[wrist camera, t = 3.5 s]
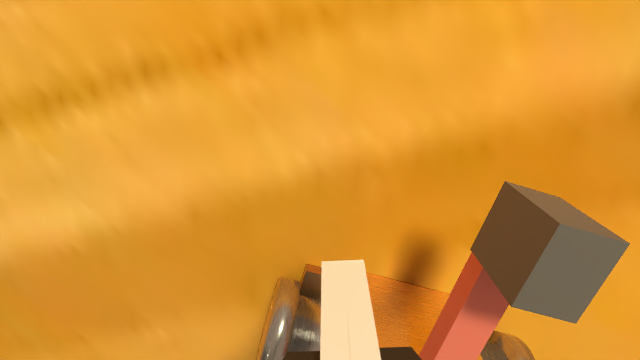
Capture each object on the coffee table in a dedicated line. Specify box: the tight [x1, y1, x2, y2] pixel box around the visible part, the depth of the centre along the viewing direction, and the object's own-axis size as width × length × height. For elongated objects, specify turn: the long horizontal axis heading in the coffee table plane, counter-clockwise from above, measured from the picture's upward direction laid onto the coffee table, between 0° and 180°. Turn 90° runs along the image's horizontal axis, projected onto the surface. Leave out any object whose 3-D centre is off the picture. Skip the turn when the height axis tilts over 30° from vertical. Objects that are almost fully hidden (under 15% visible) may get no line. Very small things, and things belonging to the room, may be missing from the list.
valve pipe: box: [257, 264, 535, 360], centre depth 23 cm, size 16×7×6 cm, turn 73°
